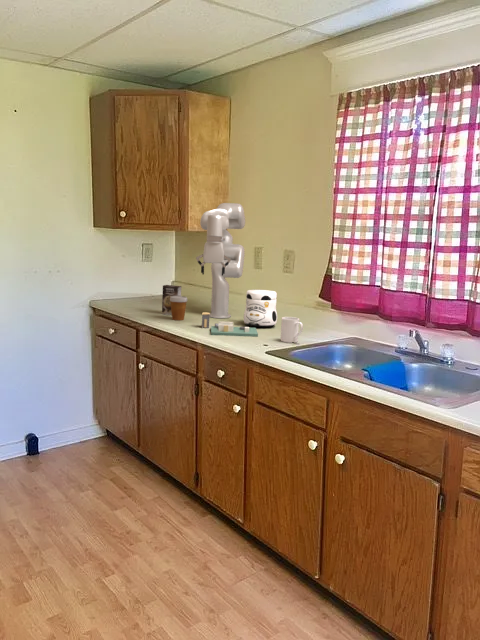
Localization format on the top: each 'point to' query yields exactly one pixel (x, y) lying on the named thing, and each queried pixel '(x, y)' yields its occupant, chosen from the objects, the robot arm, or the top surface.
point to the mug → (290, 329)
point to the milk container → (260, 308)
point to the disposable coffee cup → (178, 307)
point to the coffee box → (167, 293)
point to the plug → (205, 320)
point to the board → (232, 330)
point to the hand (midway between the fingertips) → (212, 274)
